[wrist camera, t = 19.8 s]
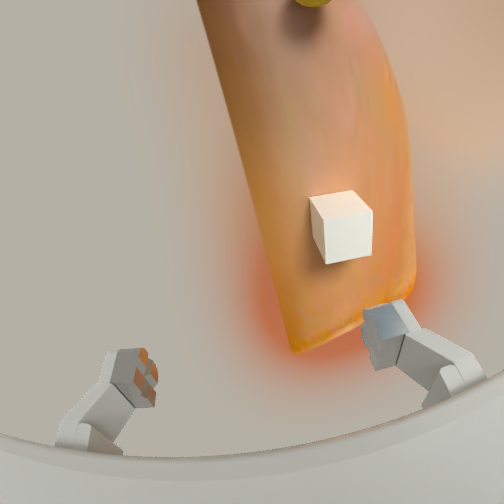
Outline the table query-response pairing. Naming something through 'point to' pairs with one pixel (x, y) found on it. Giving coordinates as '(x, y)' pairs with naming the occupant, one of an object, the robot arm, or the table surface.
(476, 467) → the robot arm
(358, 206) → the matte ivory cube
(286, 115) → the table surface
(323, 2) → the lemon
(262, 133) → the table surface
